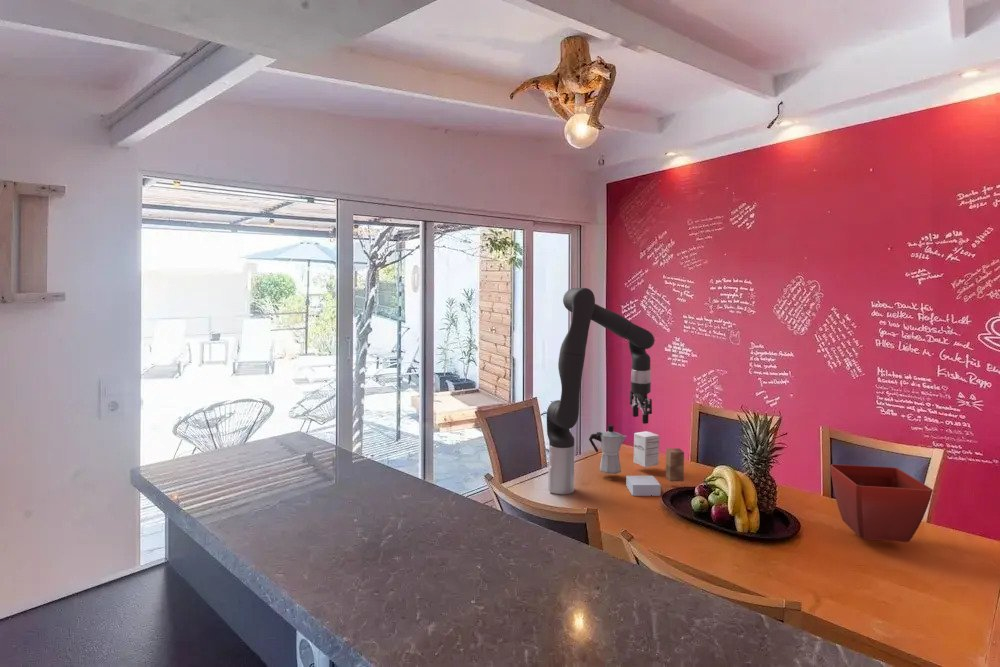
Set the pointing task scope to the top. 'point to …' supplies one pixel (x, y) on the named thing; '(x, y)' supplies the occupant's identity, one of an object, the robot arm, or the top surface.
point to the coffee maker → (609, 449)
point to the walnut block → (674, 464)
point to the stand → (643, 485)
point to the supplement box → (646, 449)
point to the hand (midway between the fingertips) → (640, 419)
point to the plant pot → (880, 501)
